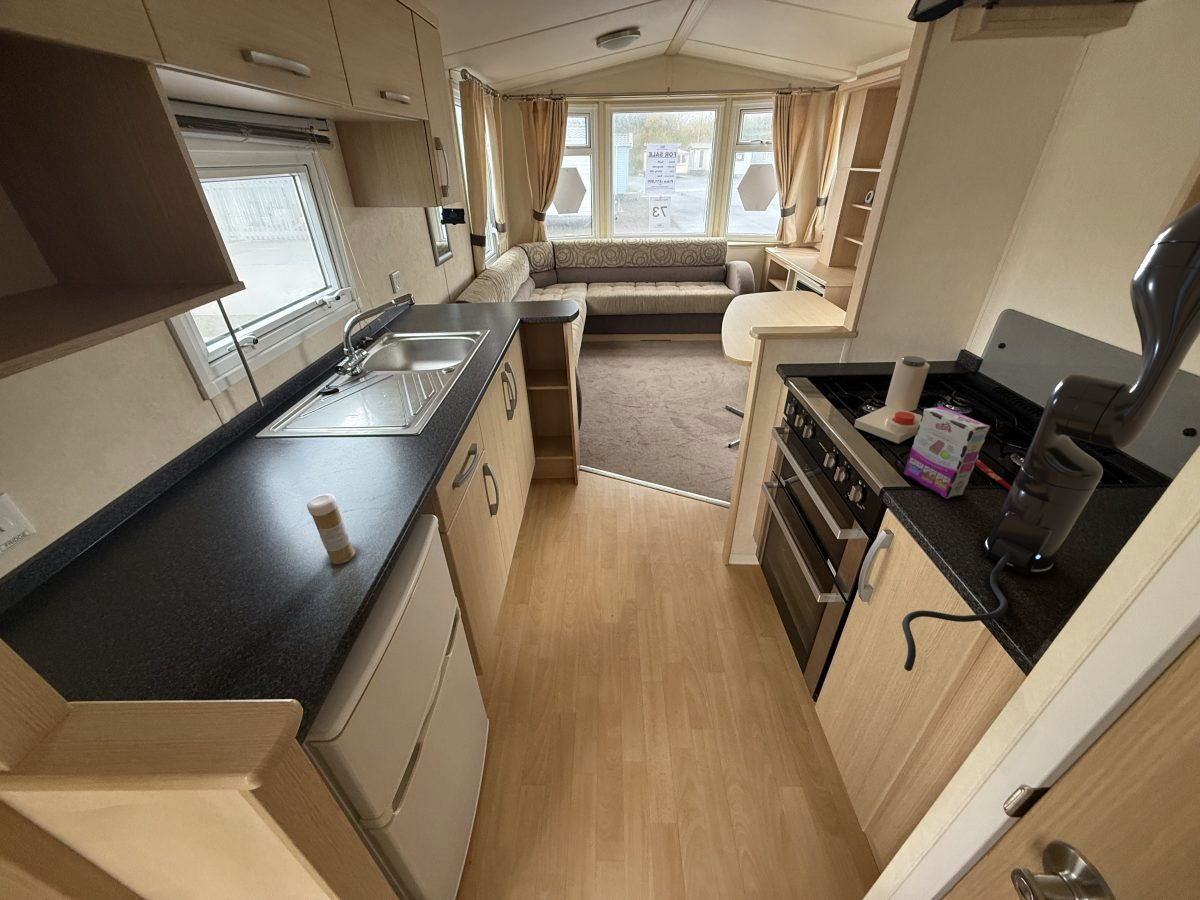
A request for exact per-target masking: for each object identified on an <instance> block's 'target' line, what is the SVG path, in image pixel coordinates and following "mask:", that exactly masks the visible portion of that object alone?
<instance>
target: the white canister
mask: <svg viewBox="0 0 1200 900" xmlns="http://www.w3.org/2000/svg"><path fill="white" fill-rule="evenodd" d="M930 367H931V366H930V363H928V362H927V360H926V359H925V358H923V357H920V356H916V355H915V356H914V355H906V356H903V357H902V358H901V359H897V360H896V362H895V365H894V370H893V373H892V377H891V380H890V383H889V387H888V390H887V396H886V399H885V401H884V404H885V406H888V407H890V408H893V409H896V410H901V411H909V412H913V411H916V410H917V409H918V406H919V402H920V400H921V395H922V393H923V390H924V386H925V383H926V380H927V376H928V373H929V370H930Z"/></svg>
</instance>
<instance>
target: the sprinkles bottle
mask: <svg viewBox="0 0 1200 900" xmlns="http://www.w3.org/2000/svg"><path fill="white" fill-rule="evenodd" d="M338 506H339V505H338V502H337V500H336V497H335V496H334V495H333V494H331V493H323V494H318V495H315V496H314V497H312V498H311V499H309V501H308V502H307V503H306V508H307V511H308V513H309V514H310V515H311V517H312V519H313V522H314V524H315V526H316V530H317V531H318V534H319V538H320V540H321V542H322V545H323V547H324V549H325V550H326V553H327V555H328V557H329V558H328V559H329V561H330V563H331V564H333V565H339V564H340V565H341V564H345V563H347V562H348V561H350V560H352V559H353V558H354V556H355V554H356V550H355V548H354V546H353V545H352V544H353V543H352V542H351V541H352V540H351V538H350V535H349V532H348V530H347V527H346V524H345V522H344V519H343V517H342V515H341V512H340V510H339V508H338Z"/></svg>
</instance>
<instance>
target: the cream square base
mask: <svg viewBox="0 0 1200 900" xmlns="http://www.w3.org/2000/svg"><path fill="white" fill-rule="evenodd" d="M896 412H908V413H911V414H913V415H914V416H915V418H914V421H913V424H912V425H900V424H898V423H895V422H894V421H893V419H894V416H895V413H896ZM922 415H923V414H922ZM922 415H921V414H918V413H915V412H913V411H901V410H896V409H893V408H890V407H888V406H887V405H885V406H883V407H881V408H879V409H876V410H874V411H871V412H870V413H868V414H865V415H863V416H861V417H859V418H857V419H855V420H854V425H853V427H854V428H856V429H859V430H860V431H864V432H867V433H869V434H872V435H874V436H877V437H880V438H882V439H885V440H887V441H890V442H892V443H895V444H901V443H902V442H904V441H906V440H908V439H910V438H912V437H915V436H916V434H917V430H918V427H919V424H920V421H921V418H922Z"/></svg>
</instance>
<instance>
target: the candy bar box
mask: <svg viewBox="0 0 1200 900" xmlns="http://www.w3.org/2000/svg"><path fill="white" fill-rule="evenodd" d="M990 428H991V425H989V424H986V423H984V422H981V421H979V420H975V419H974V418H971V417H969V416H966V415H964V414H962V413H960V412H958V411H954V410H953V409H949V408H947V407H945V406H942V405H939V406H933V407H929V408H924V409H923V411H922V418H921V421H920V424H919V427H918V430H917V434H916V435H915V436H914V440H913V443H912V447H911V449H910V453H909V456H908V459H907V462H906V465H905V468H904V471H903V474H904V475H905V476H907V477H908V478H910V479H912V480H913V481H915V482H917V483H919V484H920V485H922V486H924V487H925V488H927V489H928V490H930V491H932V492H934V493H936V494H937V495H939V496H941V497H943V498H944V499H952V498H955V497H956V498H957V497H960V496H964V494H965V491H966V488H967V486H968V484H969V481H970V478H971V476H972V474H973V471H974V469H975V466H976V465H975V463H976V461H977V459H979V457H980V454H981V451H982V449H983V446H984V443H985V441H986V438H987V436H988V434H989V431H990Z"/></svg>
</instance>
